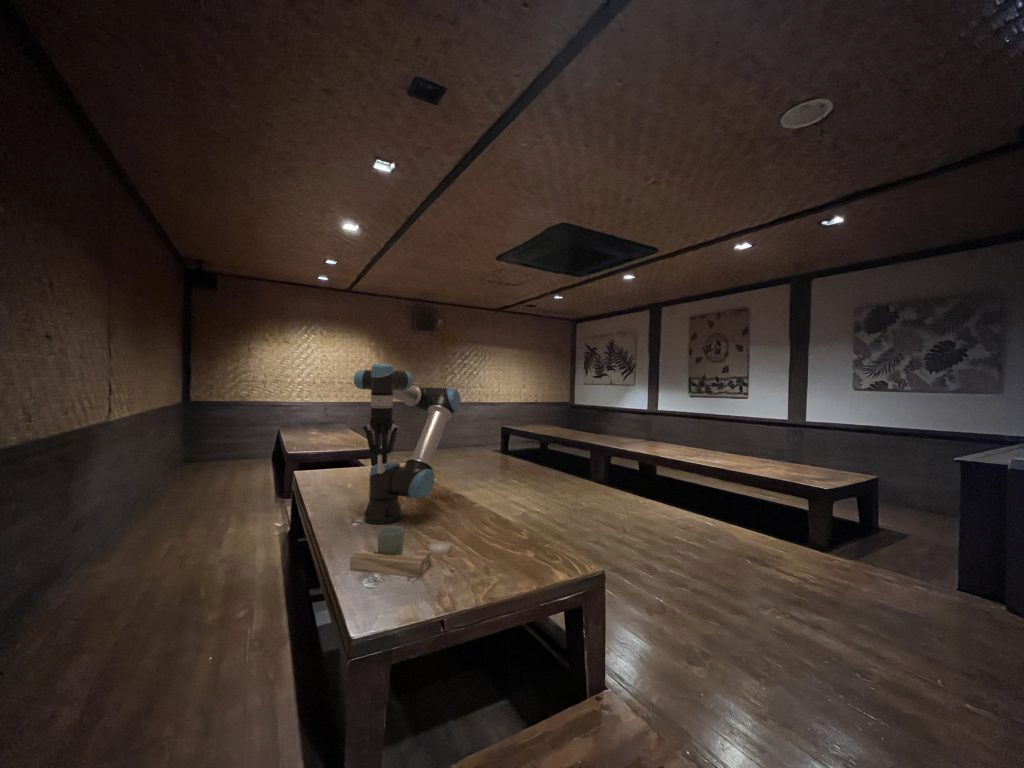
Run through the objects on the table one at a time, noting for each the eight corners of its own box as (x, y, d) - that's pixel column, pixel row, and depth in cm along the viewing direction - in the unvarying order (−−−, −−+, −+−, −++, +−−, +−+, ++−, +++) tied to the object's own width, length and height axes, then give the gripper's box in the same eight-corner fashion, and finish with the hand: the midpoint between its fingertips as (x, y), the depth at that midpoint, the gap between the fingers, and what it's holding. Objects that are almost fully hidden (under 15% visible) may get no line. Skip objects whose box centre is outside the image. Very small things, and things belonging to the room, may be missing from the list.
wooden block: (365, 557, 127) (366, 544, 127) (430, 564, 124) (431, 550, 124) (350, 569, 118) (350, 555, 118) (419, 577, 115) (420, 562, 115)
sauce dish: (433, 546, 139) (433, 540, 139) (452, 548, 137) (452, 542, 138) (426, 554, 132) (426, 548, 132) (446, 556, 131) (446, 550, 131)
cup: (394, 568, 120) (395, 535, 120) (372, 565, 122) (373, 532, 122) (407, 558, 127) (408, 527, 127) (386, 555, 129) (387, 524, 129)
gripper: (359, 407, 138) (358, 474, 139) (395, 408, 137) (394, 475, 138) (369, 406, 146) (368, 469, 146) (403, 406, 145) (402, 470, 145)
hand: (380, 472), depth 142 cm, fingers closed
